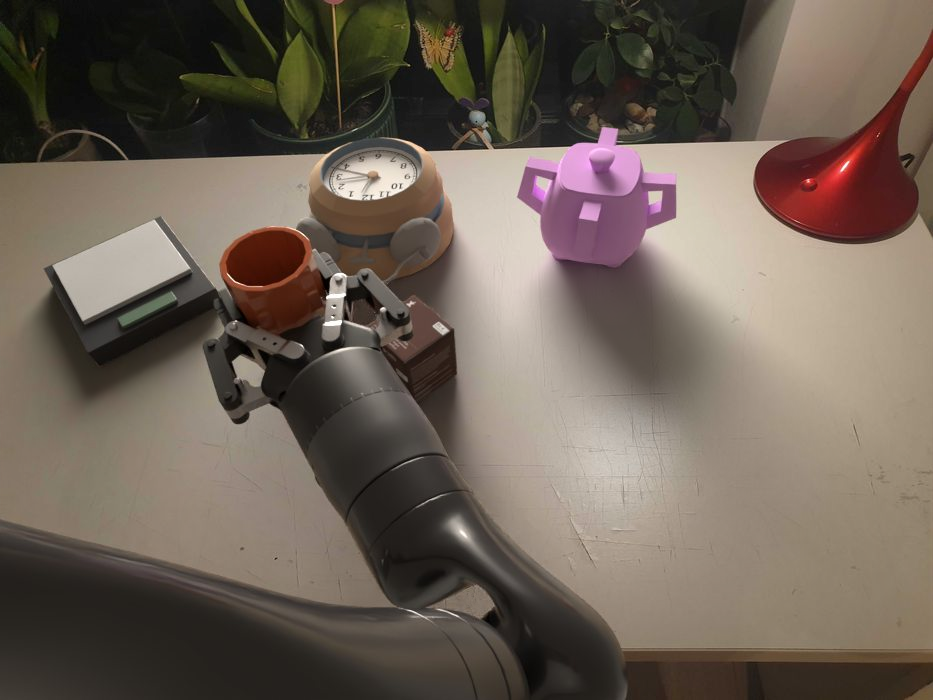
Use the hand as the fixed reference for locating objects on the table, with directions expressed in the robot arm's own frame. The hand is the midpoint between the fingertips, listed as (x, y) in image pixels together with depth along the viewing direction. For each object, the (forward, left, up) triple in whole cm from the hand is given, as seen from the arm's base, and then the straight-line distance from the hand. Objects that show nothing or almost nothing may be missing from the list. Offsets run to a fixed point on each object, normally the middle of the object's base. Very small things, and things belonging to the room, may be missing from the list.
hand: (270, 277), depth 50 cm
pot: (+37, +1, -18) cm, 41 cm away
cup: (0, -2, -6) cm, 6 cm away
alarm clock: (+17, +16, -18) cm, 29 cm away
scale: (-8, +28, -18) cm, 34 cm away
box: (+10, -2, -18) cm, 21 cm away
